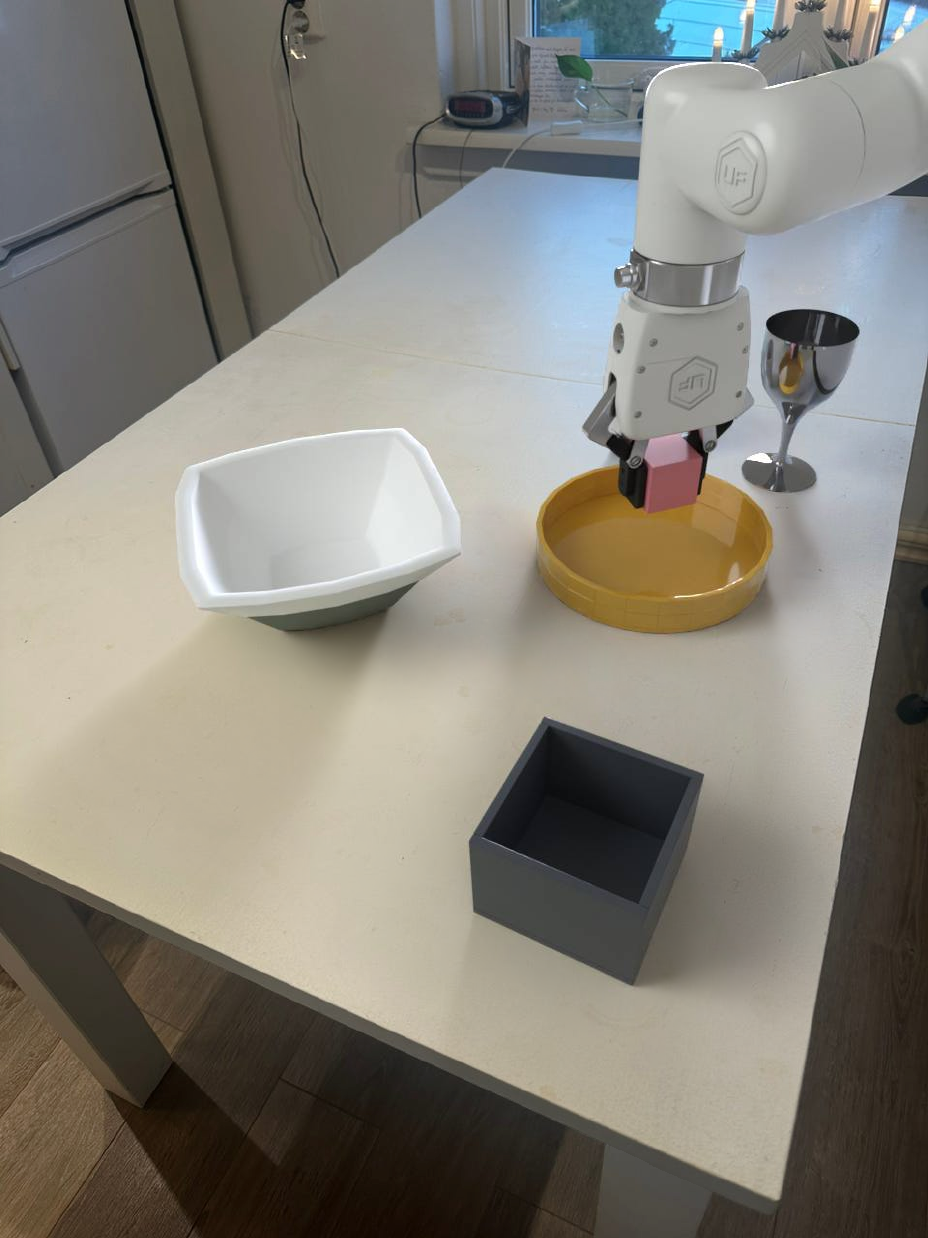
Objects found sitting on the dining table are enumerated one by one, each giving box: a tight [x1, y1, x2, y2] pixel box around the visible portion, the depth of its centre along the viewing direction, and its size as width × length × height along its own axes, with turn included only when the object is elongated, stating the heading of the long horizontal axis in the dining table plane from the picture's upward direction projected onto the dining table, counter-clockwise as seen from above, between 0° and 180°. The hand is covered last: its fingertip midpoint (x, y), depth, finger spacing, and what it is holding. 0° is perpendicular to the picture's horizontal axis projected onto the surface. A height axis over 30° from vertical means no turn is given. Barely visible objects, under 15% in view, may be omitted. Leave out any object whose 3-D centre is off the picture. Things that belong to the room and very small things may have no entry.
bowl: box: [174, 427, 462, 631], centre depth 74 cm, size 22×23×8 cm
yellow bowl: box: [535, 464, 774, 634], centre depth 77 cm, size 20×20×4 cm
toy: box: [642, 433, 702, 514], centre depth 72 cm, size 4×4×4 cm
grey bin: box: [468, 716, 705, 987], centre depth 52 cm, size 10×10×8 cm
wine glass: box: [740, 308, 861, 493], centre depth 82 cm, size 8×8×15 cm
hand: (660, 491), depth 73 cm, fingers closed on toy, 4 cm apart
